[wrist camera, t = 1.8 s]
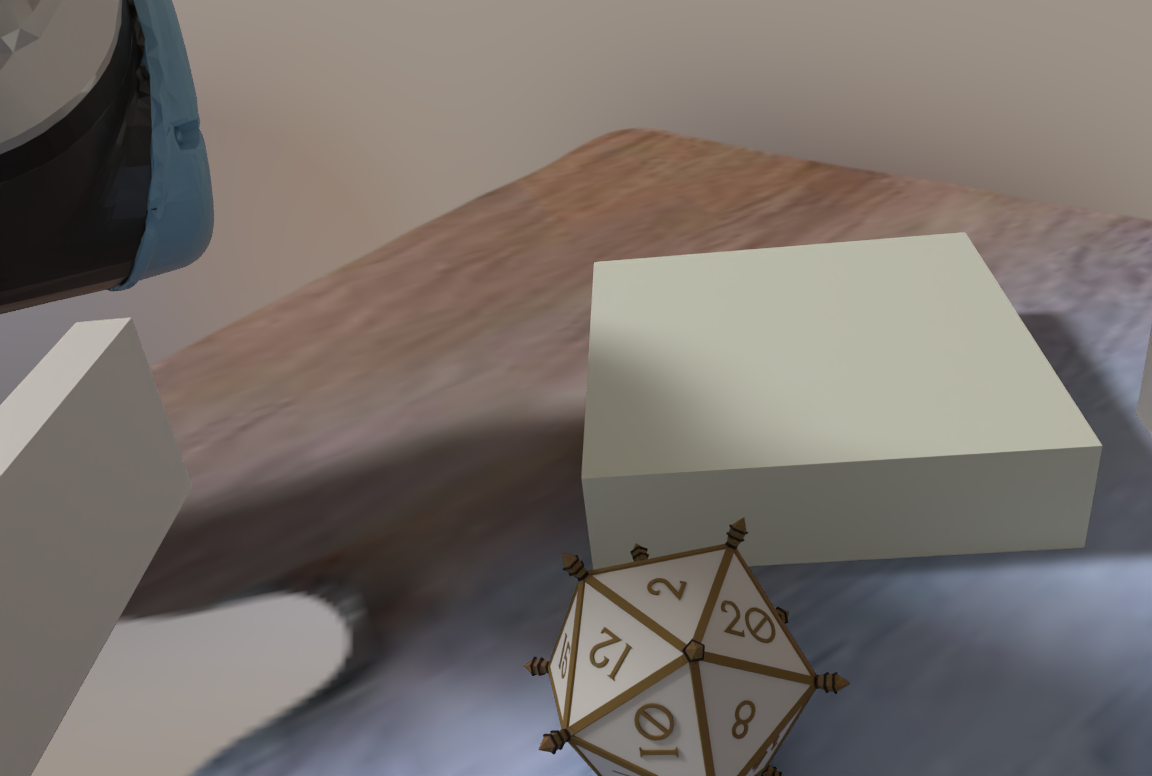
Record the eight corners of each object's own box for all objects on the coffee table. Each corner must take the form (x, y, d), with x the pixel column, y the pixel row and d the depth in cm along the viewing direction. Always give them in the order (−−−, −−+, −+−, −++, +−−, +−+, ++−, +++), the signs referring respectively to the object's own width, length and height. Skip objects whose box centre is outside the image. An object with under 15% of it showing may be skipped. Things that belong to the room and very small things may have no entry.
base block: (595, 583, 42) (581, 478, 39) (603, 349, 57) (594, 262, 54) (1082, 557, 40) (1102, 445, 38) (957, 323, 55) (965, 232, 53)
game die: (711, 793, 37) (830, 525, 36) (789, 966, 29) (948, 623, 28) (463, 713, 35) (580, 430, 34) (470, 870, 27) (625, 503, 26)
